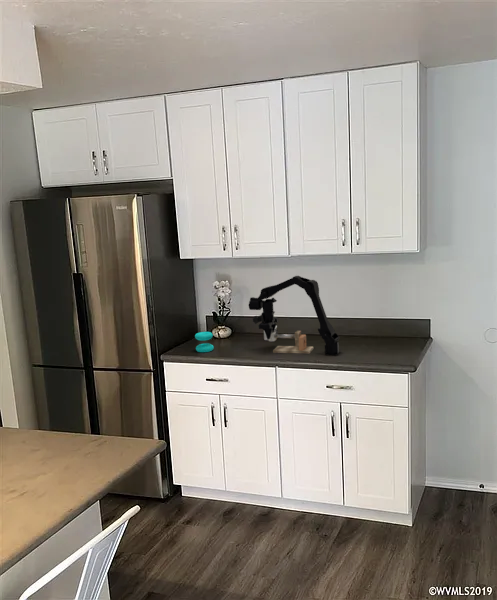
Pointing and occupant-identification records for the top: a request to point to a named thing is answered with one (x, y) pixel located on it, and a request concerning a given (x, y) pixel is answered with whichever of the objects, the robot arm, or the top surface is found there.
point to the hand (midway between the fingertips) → (269, 338)
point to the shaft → (280, 336)
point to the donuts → (202, 337)
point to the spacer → (302, 342)
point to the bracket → (293, 347)
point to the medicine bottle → (274, 330)
